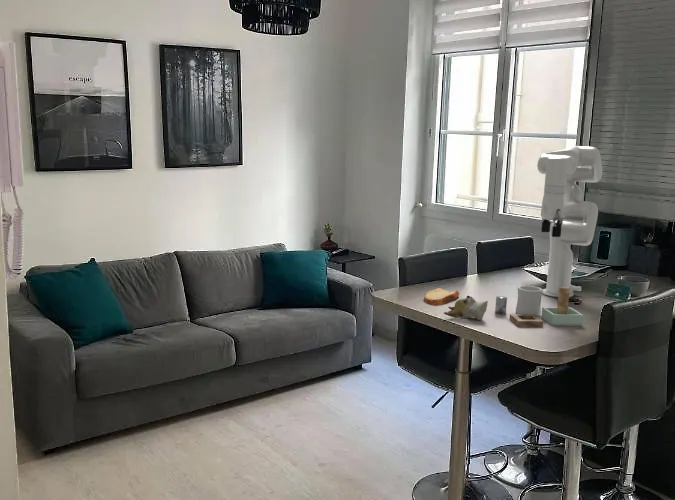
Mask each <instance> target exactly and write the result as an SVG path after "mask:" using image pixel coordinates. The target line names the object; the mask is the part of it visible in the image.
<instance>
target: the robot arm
mask: <svg viewBox="0 0 675 500" xmlns="http://www.w3.org/2000/svg"><path fill="white" fill-rule="evenodd" d="M537 171H538V172H539V174H542V175H545V176H544V177H545V178H544V186H543V187H544V188H543V197H542V201H541V202H542V203H541V210H540V217H541V233H549V234H548V235H549V253H548V254H549V255H548V265H547V266H548V267H547V276H546V277H547V278H546V287H545V288H542V295H545V296H548V297H553V298H558V295H559V287H568V288H570V291H569V298H572V297H574V292H575V291H576V292H581V291H582V286H579V285H578V286H576V285H573V284H571V281H572V271H573V261H574V253H573V250H572V249H571V248H570V246H569V245H572V246H573V245H574V246H575V245H576V246H584V247H586V246H591V244H592V242H593V240H594V237H595V231H596V226H597V222H598V215H599V207H598V205H597V204H596V203H595V202H591V201H583V197H584V193H583V191H582V189H581V187H580V186H579V185H577V183H576V182H579V183H580V182H581V183H598V182H599V181H600V180H601V179H602V176H603V166H602V157H601V152H600V150H599V149H598V148H597V147H595V146H581V145H572V146H568V147H567V148H565V149H561V150H553V151H549V152H544V153H542V154H541V155H540V157H539V158H538V161H537ZM551 221H552V222H551Z"/></svg>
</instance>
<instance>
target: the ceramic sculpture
mask: <svg viewBox="0 0 675 500" xmlns="http://www.w3.org/2000/svg"><path fill="white" fill-rule="evenodd" d="M488 303H489V302H488V300H485V301H476V300H475V298H474V297H473V296H471V295H467V296H466V298H458V299H457V300H456V301H455V302H454V306H448V309H449V310H448V311H446V312H443V314H445V315H446V316H449V317H451V318H460V319H470V318H474V319H476V320H477V321H481V320H482V319H483V318H484V316H485V314H486V312H487V308H488Z"/></svg>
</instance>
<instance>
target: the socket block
mask: <svg viewBox="0 0 675 500" xmlns="http://www.w3.org/2000/svg"><path fill="white" fill-rule="evenodd" d="M509 320H510V321H511V322H512V323H513V324H514V325H516V326H517V327H518V328H519V327H521V328H522V327H523V328H525V327H527V328H539V327H541V328H543V326H544V320H543V319H542V318H540V317H538V316H535V315H534V314H517V313H509Z"/></svg>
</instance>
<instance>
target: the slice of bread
mask: <svg viewBox="0 0 675 500" xmlns="http://www.w3.org/2000/svg"><path fill="white" fill-rule="evenodd" d="M459 296H460V292H459V290H457V289H455V291H448V290H446V289H445V288H440V287H437V288H435V289H431V290H429V291H427V292H426V293H425V295H424V297H423V298H424V299H423V302H425V304H428V305H431V306H442V305H446V304H448V303H450V301H451V302H452V301H454V300H456V299H457V298H458V297H459Z"/></svg>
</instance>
